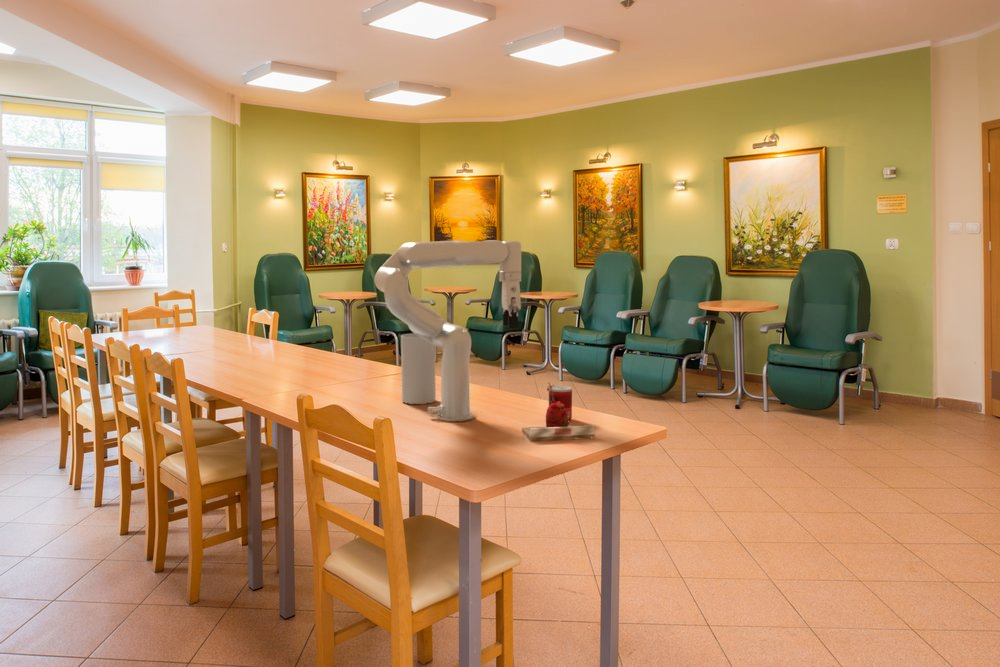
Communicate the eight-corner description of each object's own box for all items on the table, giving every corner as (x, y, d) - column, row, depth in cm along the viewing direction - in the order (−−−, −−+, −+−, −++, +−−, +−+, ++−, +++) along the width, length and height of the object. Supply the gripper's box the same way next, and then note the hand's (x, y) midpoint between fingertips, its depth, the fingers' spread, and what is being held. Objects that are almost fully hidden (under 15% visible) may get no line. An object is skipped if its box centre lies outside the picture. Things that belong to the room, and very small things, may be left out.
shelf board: (530, 441, 224) (530, 429, 224) (521, 431, 236) (521, 419, 236) (594, 438, 228) (594, 425, 227) (582, 428, 240) (582, 416, 239)
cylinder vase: (442, 400, 283) (441, 334, 280) (421, 406, 272) (420, 338, 269) (416, 396, 289) (415, 332, 286) (395, 402, 279) (393, 336, 276)
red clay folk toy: (562, 434, 228) (563, 385, 226) (541, 431, 231) (541, 384, 229) (571, 428, 234) (571, 381, 233) (550, 426, 237) (550, 379, 236)
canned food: (574, 418, 254) (574, 386, 252) (568, 423, 246) (568, 390, 245) (552, 416, 256) (552, 385, 255) (545, 421, 249) (546, 389, 247)
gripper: (526, 278, 250) (526, 329, 252) (515, 275, 267) (515, 323, 269) (504, 278, 248) (504, 329, 250) (494, 276, 265) (495, 324, 267)
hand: (510, 326), depth 259 cm, fingers open, 9 cm apart
